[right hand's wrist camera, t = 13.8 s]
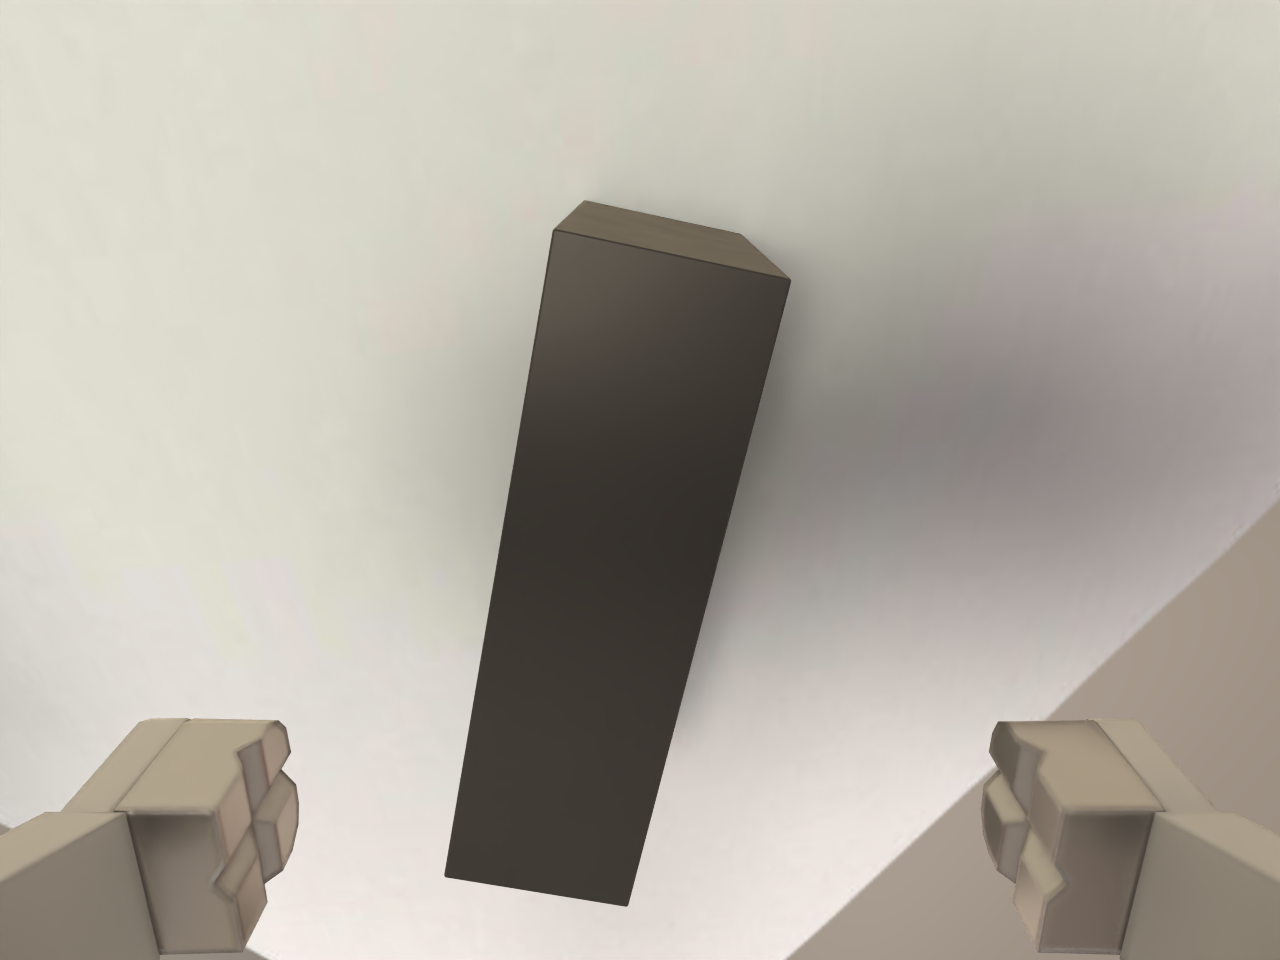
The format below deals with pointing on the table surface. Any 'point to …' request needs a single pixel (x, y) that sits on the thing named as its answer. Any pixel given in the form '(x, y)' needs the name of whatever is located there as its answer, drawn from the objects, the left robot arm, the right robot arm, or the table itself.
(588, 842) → the box
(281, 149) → the table surface
